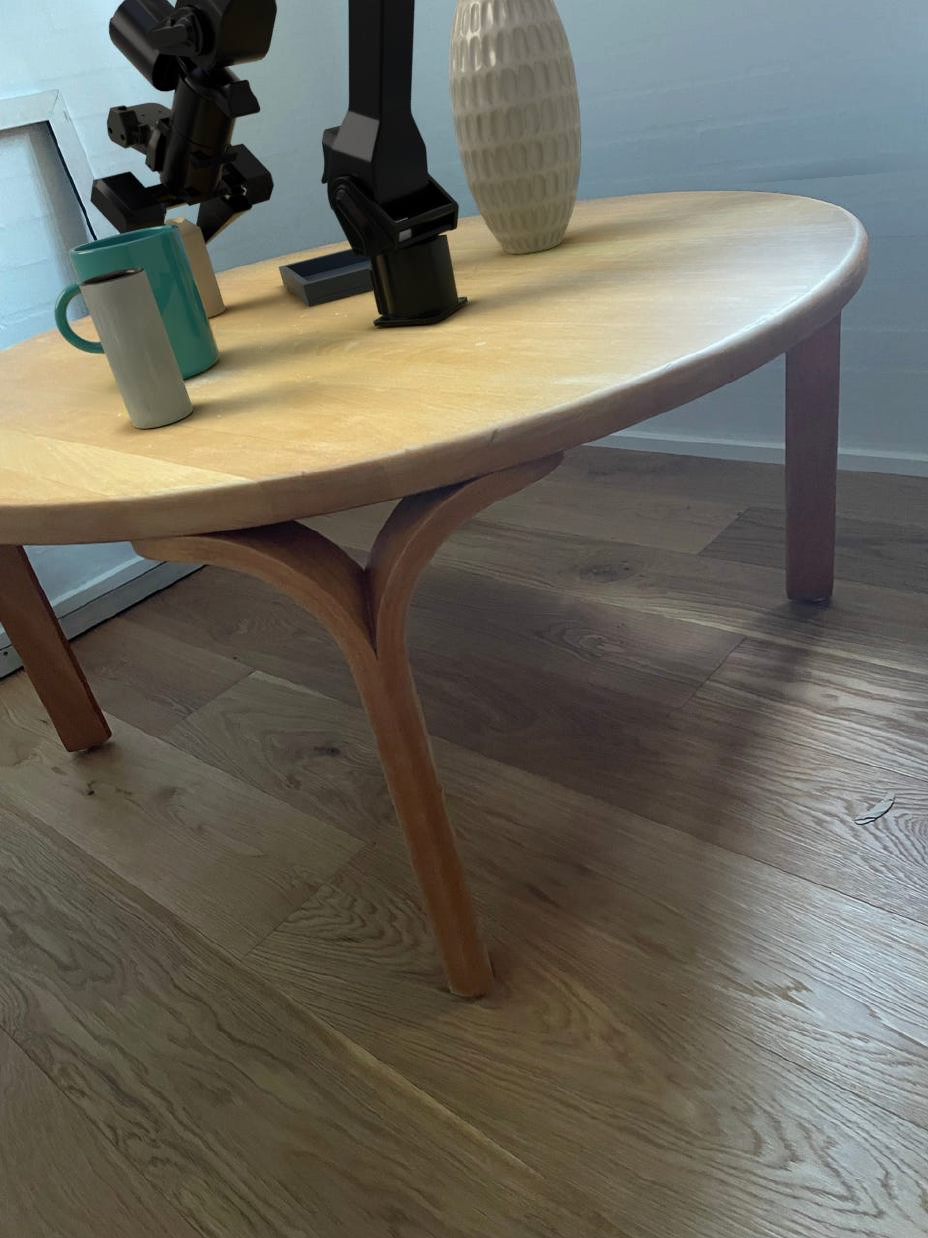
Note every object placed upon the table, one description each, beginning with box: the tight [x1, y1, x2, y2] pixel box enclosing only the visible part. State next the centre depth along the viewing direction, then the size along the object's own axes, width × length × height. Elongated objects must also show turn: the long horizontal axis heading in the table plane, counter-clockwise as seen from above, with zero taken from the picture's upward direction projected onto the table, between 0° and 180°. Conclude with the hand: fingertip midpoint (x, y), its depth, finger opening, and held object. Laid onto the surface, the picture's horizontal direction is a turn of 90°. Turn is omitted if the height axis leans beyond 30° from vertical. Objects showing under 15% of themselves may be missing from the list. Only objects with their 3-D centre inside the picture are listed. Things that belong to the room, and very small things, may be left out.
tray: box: [278, 247, 373, 308], centre depth 101 cm, size 16×15×2 cm
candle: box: [164, 215, 226, 319], centre depth 98 cm, size 6×6×10 cm
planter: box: [79, 267, 194, 430], centre depth 66 cm, size 4×4×10 cm
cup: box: [53, 225, 220, 380], centre depth 77 cm, size 9×12×11 cm
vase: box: [447, 0, 582, 255], centre depth 92 cm, size 13×13×28 cm
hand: (173, 253), depth 98 cm, fingers open, 7 cm apart
